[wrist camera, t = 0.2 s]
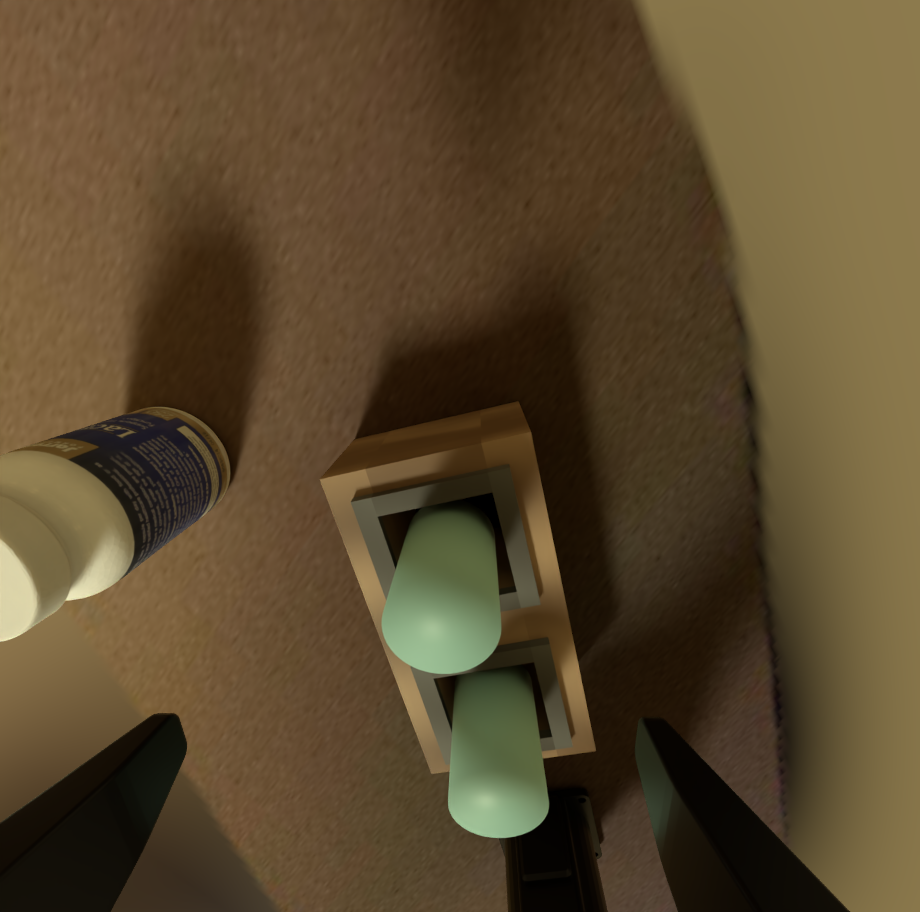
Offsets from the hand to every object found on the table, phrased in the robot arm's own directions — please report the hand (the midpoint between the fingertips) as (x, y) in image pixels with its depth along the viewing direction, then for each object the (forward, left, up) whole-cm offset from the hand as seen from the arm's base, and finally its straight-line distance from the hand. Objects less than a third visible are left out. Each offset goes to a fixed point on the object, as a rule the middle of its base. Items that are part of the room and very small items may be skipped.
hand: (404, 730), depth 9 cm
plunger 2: (-9, 0, -10) cm, 14 cm away
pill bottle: (+4, +13, -14) cm, 19 cm away
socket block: (-5, 0, -14) cm, 15 cm away
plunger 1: (-1, 0, -10) cm, 10 cm away
